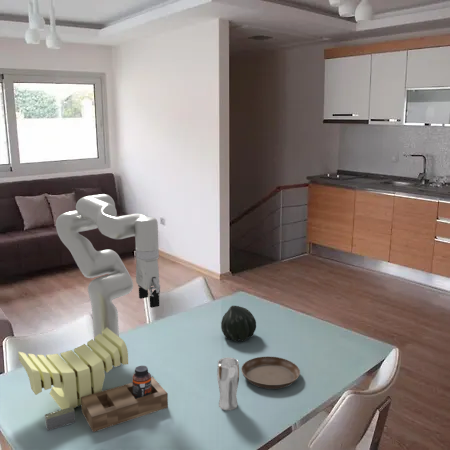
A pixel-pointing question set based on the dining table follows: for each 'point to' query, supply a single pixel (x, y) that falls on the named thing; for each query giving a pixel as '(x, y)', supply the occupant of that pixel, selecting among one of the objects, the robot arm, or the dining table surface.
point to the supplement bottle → (141, 382)
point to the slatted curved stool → (75, 369)
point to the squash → (238, 324)
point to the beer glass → (228, 383)
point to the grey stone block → (60, 418)
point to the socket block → (121, 405)
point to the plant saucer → (270, 372)
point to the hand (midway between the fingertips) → (149, 302)
